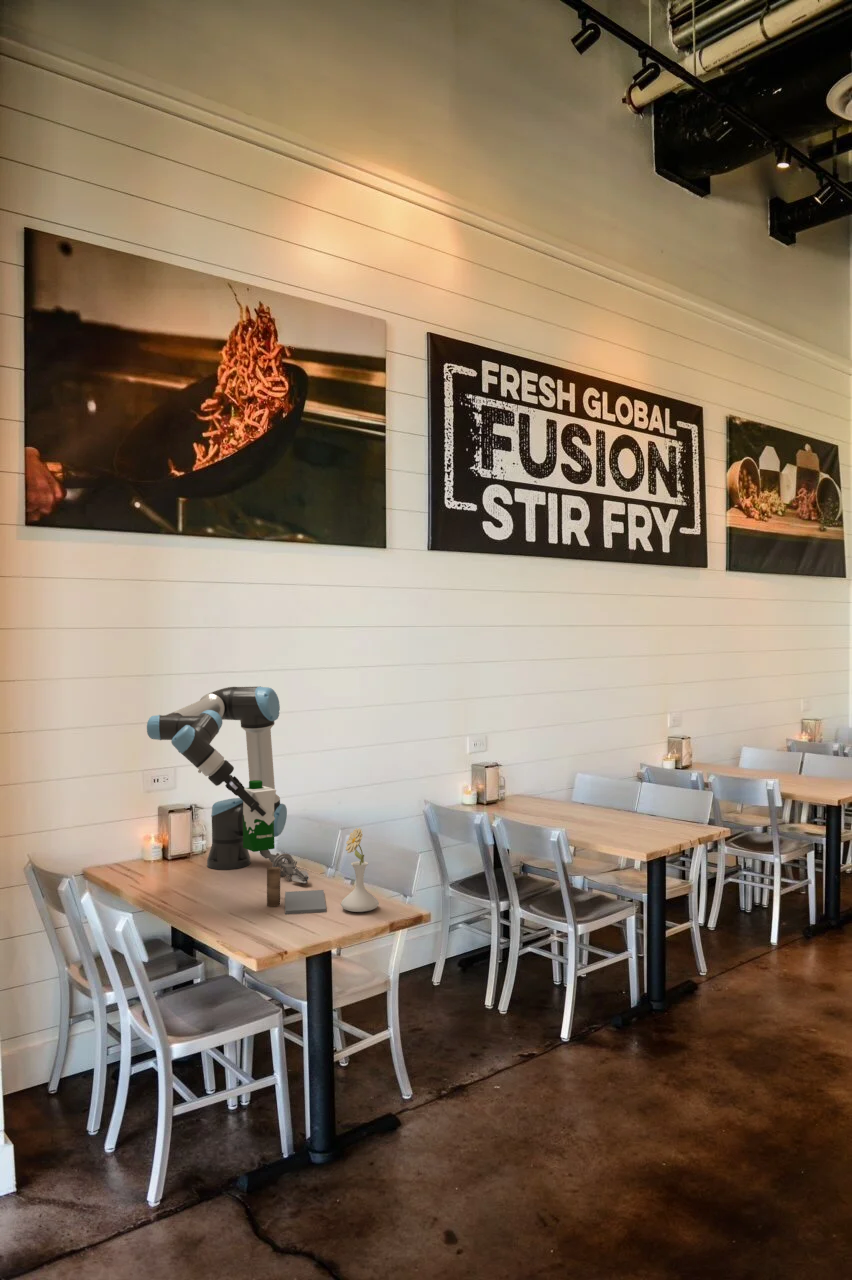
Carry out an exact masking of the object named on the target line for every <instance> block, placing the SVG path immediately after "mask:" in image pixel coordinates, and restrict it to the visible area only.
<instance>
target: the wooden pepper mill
mask: <svg viewBox="0 0 852 1280" xmlns="http://www.w3.org/2000/svg"><path fill="white" fill-rule="evenodd" d="M280 870H281V868H280V867H272V866H270V867H268V868H266V906H267V907H270V908H277V907H280V905H281V876H280Z"/></svg>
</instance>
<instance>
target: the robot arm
mask: <svg viewBox="0 0 852 1280" xmlns="http://www.w3.org/2000/svg"><path fill="white" fill-rule="evenodd" d="M280 706H281V705H280V700H279V696H278V693H276V691H275V690H274V689H273V688H272V687H269V686H268V687H267V686H229V687H223V688H220V689H217V690H214V691H212V692H209V693H207V694H205V695H203V696H202V697H200V699H199V700H198V701H196V702H194V703H191V704H188V705H187V706H184V707H181V708H179V709H178V710H176V711H173V712H171V713H168V714H166V715H165V714H164V715H162V714H157V715H152V716H150V717H149V718H148V720H147V722H146V733H147V735H148V737H149V738H150V739H151V740H157V741H170V742H171V745H172V746H173V747H174V748H175V749H176V750H177V751H178V753H179V754H181V755H183V757H184V758H185V759H187V760H188V762H190V763H191V764H192V765H193V766H194V767H195V768H196V769H198V770H197V772H198V773H199V774H201V773H202V774H203V775H204V776H205V777H208V780H209V781H210V782H211V783H212V784H213V785H214V786H216V787H218V786H220V785H221V784H222V783H225V788H227V790H228V791H230V792H232V793H233V795H235V796H237V797H234V798H228V799H223V800H218V801H216V802H215V803H213V805H212V807H211V816H210V817H211V846H210V849H209V853H208V856H207V860H206V864H207V865H206V866H207V867H208V868H209V869H213V870H234V869H241V868H246V867H247V866H249V865H250V864H251V855H250V853H249V852H250V851H249V850H248V849H245V848H243V801H244V802H245V803H246V804H247V805H248V806H249V807H250V808H251V810H250V811H251V812H253V811H254V812H255V813H256V814H257V815H258V816H259V817H261V818H262V819H263V820H264V821H265V822H266V823H267V824H268V825H270V824H271V823H272V822H273V820H274V838H276V837H279V836H280V835H281V834H282V833H283V830H284V828H285V826H286V822H287V816H288V815H287V814H288V809H287V806H286V804H284V803H281V798H280V796H279V795H278V794H277V793H276V794H275V800H274V817H273V816H272V815H271V814H270V813H269V812H268V811H267V810H266V809H265V808H264V807H263V806H262V805H261V804H259V803H258V802H257V801H256V800H255V799H254V798H252V797H251V796H250V795H249V794H248V793H247V792H246V791H245V790H244V789H245V788H246V787H245V786H244V784H243V783H242V782H241V781H240V780H239V779H238V778H237V777H236V776H235V775H234V776H233V775H232V773H233V772H234V769H235V767H234V766H233V764H231V763H230V762H229V761H228V760H226V759H225V757H224V756H223V755H222V754H221V753H220V752H219V751H218V750H217V749H216V748H214V747H213V746H212V745H211V743H212V742H213V740H214V739H215V737H216V736H217V735H218V734H219V733H220V730H221V728H222V726H223V721H226V720H227V721H239V722H240V728H241V729H243V730H244V731H245V740H246V752H247V764H248V767H247V768H248V778H249V779H248V780H249V781H253V780H260V781H262V786H265V787H269V788H272V789H275V790H276V788H275V787H276V785H275V773H274V772H275V771H274V761H273V760H274V759H273V746H272V745H273V743H272V742H273V741H272V727H273V726H275V721H277V720H278V719H279V716H280V711H281V710H280V708H281V707H280ZM253 803H254V804H253ZM252 804H253V805H252ZM251 805H252V806H251Z"/></svg>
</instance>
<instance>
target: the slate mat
mask: <svg viewBox="0 0 852 1280" xmlns="http://www.w3.org/2000/svg"><path fill="white" fill-rule="evenodd" d="M284 894H285V895H284V896H285V897H284V912H285V913H284V914H285V915H294V914H295V915H297V914H298V915H299V914H315V913H327V905H326V899H325V891H324V889H316V890H314V889H313V890H312V889H311V890H297V891H296V890H294V891H293V890H292V891H285V893H284Z"/></svg>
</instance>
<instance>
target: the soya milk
mask: <svg viewBox="0 0 852 1280" xmlns="http://www.w3.org/2000/svg"><path fill="white" fill-rule="evenodd" d="M244 790H245V791H246V792H247V793H248V794H249V795H250V796H251V797H252V798H254V799H255V800H256V801H257V802H258V803H259V804H261V805H262V806H263V807H264V808H265V809H266V810H267V811H268V812H269V813H270V814H271V815H272V816H273V817H274V800H275V794H276V795H277V793H276V792H277V790H276V788H275V789H272V788H269V787H265V786H262V781H260V780H253V781H249V782H248V787H245V789H244ZM253 804H254V803H253ZM253 804H252V805H253ZM252 805H251V806H252ZM250 810H251V808H250V807H249V806H248V805H247V804H246V803H245V802H244V801H243V848H245V849H248V851H249V852H253V853H256V852H260V851H263V850H269V851H270V850H274V849H275V837H274V820H273V822H272V823H271V824H270V825H268V824H267V823H266V822H265V821H264V820H263V819H262V818H261V817H259V816H258V815H257V814H256V813H255V812H254V811H253V812H251V811H250Z"/></svg>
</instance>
